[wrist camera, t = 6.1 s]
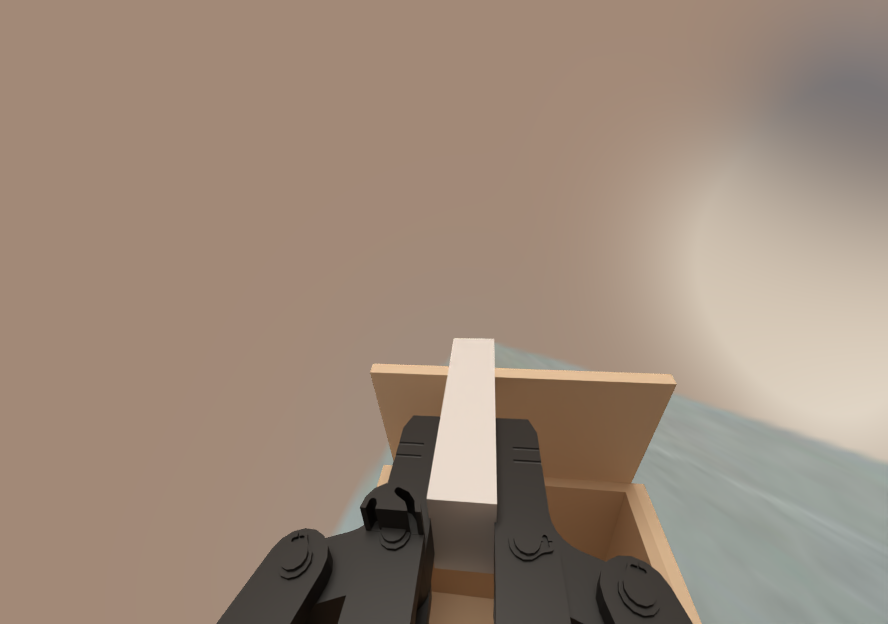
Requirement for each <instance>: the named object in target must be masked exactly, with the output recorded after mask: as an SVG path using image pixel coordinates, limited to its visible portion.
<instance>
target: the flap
mask: <svg viewBox="0 0 888 624" xmlns="http://www.w3.org/2000/svg"><path fill="white" fill-rule="evenodd" d="M448 370H449V366H423V365H395V364H373V366H372V369H371V371H370V374H371V378H372V381H373V385H374V389H375V392H376V396H377V400H378V404H379V407H380V412H381V415H382V419H383V422H384V426H385V430H386V434H387V438H388V442H389V445H390V449H391V453H392V457H393V460H394V459H395V457H396V452H397V448H398V445H399V441H400V438H401V434H402V431H403V427H404V426H405V425H406V424H407V422H408V421H409V420H410V419H411V418H412V416H413V415H418V416H440V417H441V411H442V405H443V399H444V393H445V388H446V382H447V376H448ZM675 387H676V382H675V380H674V378H673V377H672V375H671V374H646V373H620V372H592V371H564V370H535V369H507V368H495V418H508V419H528V420H529V422H530V423H531V425H532V426H533V428H534V429H535V431H536V432H537V436H538V443H539V451H540V456H541V464H542V469H543V476H544V477H552V478H566V479H579V480H593V481H606V482H619V483H631V482H632V480H633V478H634V476H635V473H636V471H637V469H638V467H639V465H640V463H641V460H642V458H643V456H644V454H645V452H646V450H647V447H648V445H649V443H650V441H651V439H652V437H653V434H654V432H655V430H656V428H657V426H658V424H659V421H660V419H661V417H662V415H663V413H664V411H665V408H666V406H667V404H668V402H669V400H670V398H671V395H672V393H673V391H674V389H675Z"/></svg>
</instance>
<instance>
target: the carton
mask: <svg viewBox="0 0 888 624" xmlns="http://www.w3.org/2000/svg"><path fill="white" fill-rule="evenodd" d="M391 469H392V465H384V466H383V469H382V472H381V475H380V478H379V481H378V485H377V487H379V486H381V485H383V484H385V483H388V480H389V476H390V473H391ZM544 482H545V489H546V495H547V502H548V509H549V514H550V518H551V521H552V524H553V525H554V527H555V529H556V531H557V532H558V533H559V534H560V536H561V537H562V538H563V539H564V540H565V541H566V542H568V543H569V544H570V545H571V546H573V547H575V548H576V549H578V550H580V551H582V552H584V553H587V554H589V555H591V556H594V557H596V558H598V559H601V560H603V561H605V562H607V561H608V560H609V559H612V558H614V557H616V556H632V557H635V558H637V559H640V560H642V561H644V562H646V563H648V564H649V565H650V566H652V567H653V568H654V569H655V570H657V571H658V572H659V573H660V574H661V575H662V576H663V578H664V579H665V580H666V581H667V583H668V584H669V585H670V587H671V588H672V590H673V591H674V593H675V595H676V596H677V598H678V600H679V601H680V603H681V605H682V606H683V608H684V610H685V611H686V613H687V615H688V616H689V618H690V620H691V621H692V623H693V624H702V623H701V621H700V619H699V616H698V614H697V611H696V609H695V607H694V604H693V602H692V599H691V597H690V594H689V592H688V590H687V587H686V585H685V582H684V580H683V578H682V575H681V573H680V570H679V568H678V565H677V563H676V561H675V558H674V556H673V553H672V551H671V549H670V546H669V544H668V541H667V539H666V537H665V534H664V532H663V529H662V527H661V524H660V522H659V520H658V517H657V515H656V512H655V510H654V508H653V505H652V503H651V500H650V498H649V495H648V493H647V491H646V488H645V486H644V484H633V483H619V482H606V481H593V480H579V479H566V478H552V477H544ZM431 586H432V601H431V609H430V618H429V624H494V619H493V609H494V574H488V573H478V572H468V571H458V570H448V569H438V568H435V567H434V563H433V571H432V579H431Z"/></svg>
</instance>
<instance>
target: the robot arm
mask: <svg viewBox="0 0 888 624" xmlns="http://www.w3.org/2000/svg"><path fill="white" fill-rule="evenodd" d="M360 509H361V513H362V517H363V521H364V525H363V526H362V527H360V528H359V529H356V530H353V531H351V532H347V533H343V534H340V535H336V536H332V537H328V538H325V537H324V535H322V534H321V533H320V532H318V531H317V530H313V529H306V528H305V529H301V530H297V531H294V532H292V533H290V534H289V535H287V536H285V537H284V538H282V539H281V540H280V541H279V542H278V543H277V544H276V545H275V546H274V547H273V548H272V550H271V551H270V552H269V554H268V555H267V556H266V558H265V559H264V560H263V562H262V563H261V565H260V566H259V567H258V568H257V570H256V571H255V573H254V574H253V575H252V576H251V578H250V579H249V581H248V582H247V583H246V584H245V586H244V587H243V589H242V590H241V591H240V593H239V594H238V595H237V597H236V598H235V600H234V601H233V602H232V603H231V605H230V606H229V607H228V609H227V610H226V612H225V613H224V614H223V615H222V617H221V618H220V620H219V621H218V622H217V624H429V618H430V609H431V601H432V586H431V579H432V571H433V563H434V567H435V568H438V569H448V570H458V571H468V572H478V573H488V574H494V609H493V619H494V624H693V623H692V621H691V620H690V618H689V616H688V615H687V613H686V611H685V610H684V608H683V606H682V605H681V603H680V601H679V600H678V598H677V596H676V595H675V593H674V591H673V590H672V588H671V587H670V585H669V584H668V583H667V581H666V580H665V579H664V578H663V576H662V575H661V574H660V573H659V572H658V571H657V570H655V569H654V568H653V567H652V566H650V565H649V564H648V563H646V562H644V561H642V560H640V559H637V558H635V557H632V556H616V557H614V558H612V559H609V560H608V561H607V562H605V561H603V560H601V559H598V558H596V557H594V556H591V555H589V554H587V553H584V552H582V551H580V550H578V549H576V548H575V547H573V546H571V545H570V544H569V543H568V542H566V541H565V540H564V539H563V538H562V537H561V536H560V534H559V533H558V532H557V531H556V529H555V527H554V525H553V524H552V521H551V518H550V514H549V509H548V502H547V495H546V489H545V482H544V476H543V469H542V464H541V456H540V451H539V443H538V436H537V432H536V431H535V429H534V428H533V426H532V425H531V423H530V422H529V420H528V419H508V418H495V364H494V339H469V338H454V341H453V346H452V352H451V358H450V364H449V370H448V376H447V382H446V388H445V393H444V399H443V405H442V411H441V417H440V416H418V415H413V416H412V418H411V419H410V420H409V421H408V422H407V424H406V425H405V426H404V427H403V431H402V434H401V438H400V441H399V445H398V448H397V452H396V457H395V459H394V462H393V466H392V469H391V473H390V476H389V480H388V483H385V484H383V485H381V486H379V487H376V488H375V489H373V490H372V491H371V492H370V493H369V494H368V495H367V496H366V497H365V499H364V501H363V503H362V504H361V506H360Z"/></svg>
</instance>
